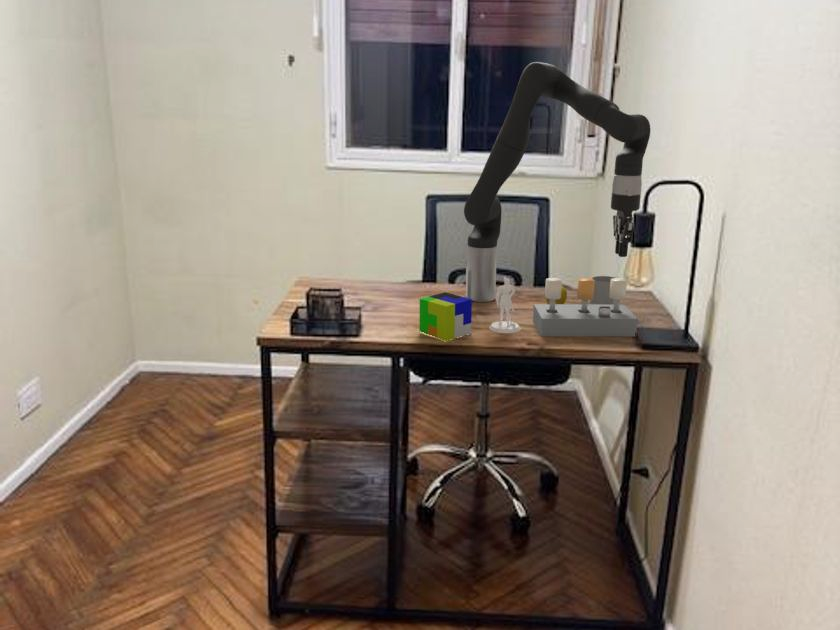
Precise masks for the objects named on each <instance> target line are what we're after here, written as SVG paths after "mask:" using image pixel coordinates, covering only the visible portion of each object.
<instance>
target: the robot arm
mask: <svg viewBox="0 0 840 630" xmlns="http://www.w3.org/2000/svg"><path fill="white" fill-rule="evenodd" d="M540 98H545V99H546V98H550V99H553V100H556V101H559V102H561V103H563V104H565V105H567V106H569V107H570V108H571V109H573V110H574V111H575V113H577V114H578V115H579V116H581V117H582V118H583V119H585V120H587V121H588V122H590V123H592V124H594V125H595V126H598V127H599V128H601V129H602V130H603V131H604V132H605V133H607V134H608V135H609V136H611V137H612V138H613V139H614V140H616V141H618V142H620V143H624V144H623V148H622V150H621V151H620V152H618V153H617V154H616V156H615V161H614V162H615V163H614V174H613V179H612V184H611V185H612V186H611V198H610V209H611V210H613V211H616V215H613V216H612V221H613V222H612V225H613V237H614V239H615V250H614V253H615V254H616V255H618V257H619V258H626V257H628V249H629V244H630V243H632V241H633V237H632V235H633V236H634V233H633V223H634V217H633V212H637V211H639V210H640V207H641V195H642V186H643V185H642V182H643V181H642V173H643V161H644V156H645V154H646V151H647V147H648V144H649V141H650V138H651V124H650V121H649V118H648V117H646V116H645V115H643V114H638V113H637V114H636V113H635V114H629V113H626V112H623V111H621V110H620V108H619V106H618V105H617V103H614V101H611V100H610V99H607V98H605V97H604V96H602V95H600V94H597V93H595V91H594V92H593V91H592V90H590V89H588V88H586V87H584V86H582V85H581V84H579V83H577V82H576V81H574V80H573V79H572V78H571V77H569V76H568V75H567V73H565V72H563V71H562V70H561V69H559V68H558V67H557V66H556V65H554V64H551V63H548V62H547V63H546V62H541V61H534V62H531V63H529V64H528V65H527V66H526V67H524V70H523V71H522V73H521V75H520V78H519V81H518V84H517V86H516V90H515V93H514V96H513V99H512V101H511V105H510V107H509V109H508V112H507V114H506V117H505V119H504V122H503V124H502V126H501V128H500V131H499V133H498V134H497V137H496V139H495V141H494V144H493V146H492V148H491V151H490V154H489V156H488V158H487V160H486V162H485V164H484V167H483V169H482V172H481V174H480V177H479V178H478V180H477V182H476V183H475V186H474V187H473V189H472V191H471V192H470V194H469V196H468V197H467V200H466V201H465V204H464V207H463V215H464V218H465V220H466V222H467V223H468V224H470V225H471V226H473V229H472V231H471V233H469V235H468V237H467V248H466V249H467V256H466V257H467V259H466V261H467V262H466V267H465V268H466V269H465V298H469V299H472V302H478V303H479V302H481V303H485V302H492V301H494V300H496V296H495V293H496V285H497V284H496V283H497V255H498V240H499V238H500V235H501V226H502V225H501V223H502V211H503V210H502V204H501V200H500V199H499V197H498V196H497V195H498V193H499V191H500V189H501V188H502V186H503V184H504V183H505V182H506V181H507V180H508V179H509V177H511V175H512V174H513V173H514V171H516V169H517V168H518V167H519V165H520V163H521V161H522V159H523V157H524V155H525V154H526V153H525V152H526V150H527V148H528V146H529V142H530V133H531V132H530V131H531V130H530V129H531V128H530V127H531V126H530V125H531V124H530V122H531V117H532V113H533V111H534V109H535V107H536V105H537V102H538V101H539V99H540Z"/></svg>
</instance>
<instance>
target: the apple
mask: <svg viewBox="0 0 840 630" xmlns="http://www.w3.org/2000/svg"><path fill="white" fill-rule="evenodd" d="M567 292H568V291H567V289H566V288H565V287H564V286H563V285H562V288H561V298H560V299H556V302H555V304H566V300H567V298H568V293H567ZM545 300H546V303H547V304H550V299H547V298H545Z"/></svg>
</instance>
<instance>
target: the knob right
mask: <svg viewBox="0 0 840 630" xmlns="http://www.w3.org/2000/svg"><path fill="white" fill-rule="evenodd" d="M626 280H627V279H626ZM626 280H625V278H621V277H615V278H612V279H611V281H610V294H609V297H610V298H611V299H614V308H613V312H619V307H620V305H621V300H625V299H626V295H627V285H628V281H627V282H626Z"/></svg>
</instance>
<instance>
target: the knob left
mask: <svg viewBox="0 0 840 630" xmlns="http://www.w3.org/2000/svg"><path fill="white" fill-rule="evenodd" d="M562 283H563V279H562V278H557V277H548V278H546V279H545V287H544V288H545V289H544V298H545V299H546V298H547V299H550V305H549V312H555V302H556V299H560V298H561V288H562V286H563V285H562Z"/></svg>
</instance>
